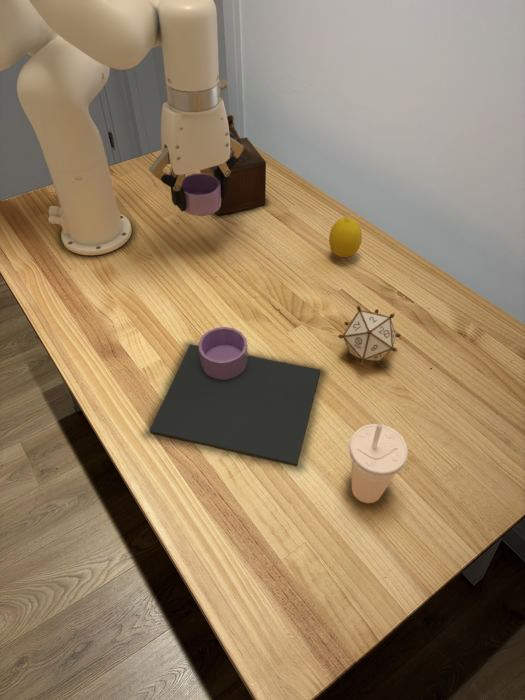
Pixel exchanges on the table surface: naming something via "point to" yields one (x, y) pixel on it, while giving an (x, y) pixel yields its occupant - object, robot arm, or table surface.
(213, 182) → the dish
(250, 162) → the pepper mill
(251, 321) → the table surface
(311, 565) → the table surface
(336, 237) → the lemon
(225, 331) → the dish
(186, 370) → the mat
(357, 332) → the game die
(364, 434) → the smoothie
